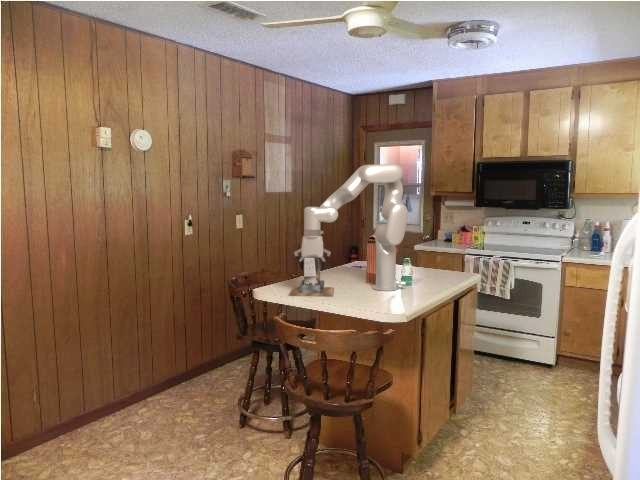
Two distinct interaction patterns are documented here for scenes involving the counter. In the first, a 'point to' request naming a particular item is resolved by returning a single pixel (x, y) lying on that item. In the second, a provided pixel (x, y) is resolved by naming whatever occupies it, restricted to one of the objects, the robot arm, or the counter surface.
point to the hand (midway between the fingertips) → (312, 269)
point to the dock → (312, 290)
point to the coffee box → (311, 271)
